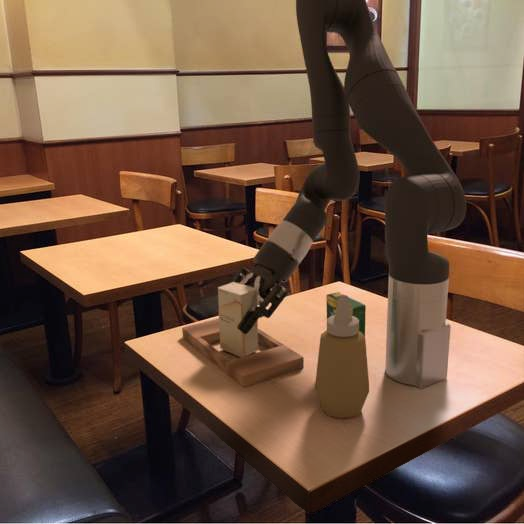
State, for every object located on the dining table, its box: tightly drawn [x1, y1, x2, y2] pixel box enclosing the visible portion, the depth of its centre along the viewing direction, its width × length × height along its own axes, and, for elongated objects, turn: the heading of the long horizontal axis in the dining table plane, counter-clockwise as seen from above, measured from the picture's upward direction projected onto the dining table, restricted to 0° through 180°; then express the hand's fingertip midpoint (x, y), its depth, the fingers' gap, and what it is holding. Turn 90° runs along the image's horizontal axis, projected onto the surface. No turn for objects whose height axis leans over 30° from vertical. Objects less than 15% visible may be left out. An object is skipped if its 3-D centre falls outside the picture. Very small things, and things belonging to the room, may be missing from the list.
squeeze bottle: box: [314, 294, 370, 419], centre depth 83 cm, size 8×8×18 cm
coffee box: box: [325, 291, 367, 337], centre depth 95 cm, size 8×3×13 cm, turn 25°
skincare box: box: [217, 282, 259, 358], centre depth 104 cm, size 6×4×12 cm
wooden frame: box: [181, 317, 305, 388], centre depth 106 cm, size 24×12×2 cm, turn 32°
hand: (231, 324), depth 103 cm, fingers closed on skincare box, 7 cm apart
